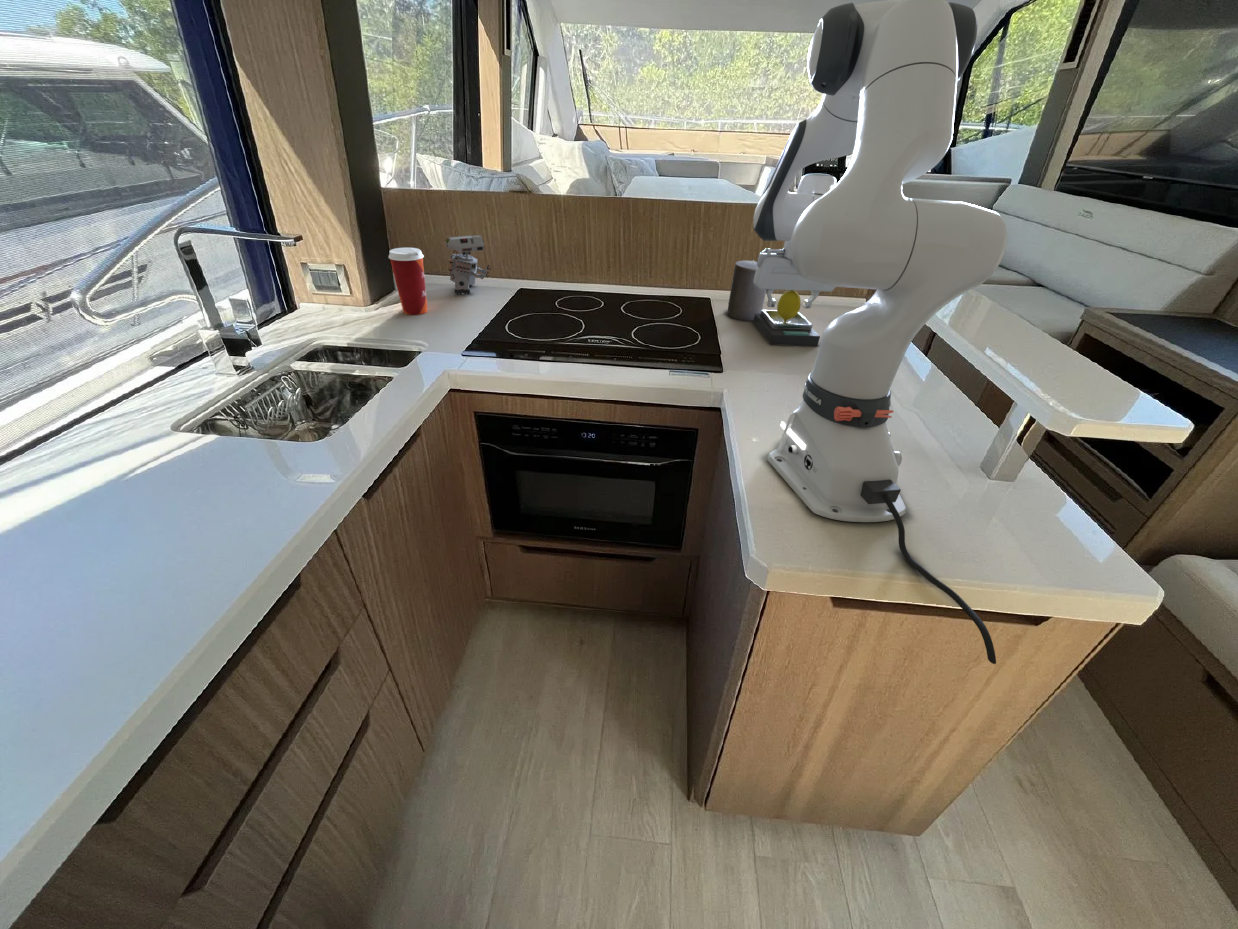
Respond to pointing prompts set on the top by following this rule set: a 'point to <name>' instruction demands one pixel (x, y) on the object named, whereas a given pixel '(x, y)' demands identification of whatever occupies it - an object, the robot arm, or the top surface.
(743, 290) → the pillar candle
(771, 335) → the scale
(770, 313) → the scale pan
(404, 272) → the coffee cup
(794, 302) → the lemon
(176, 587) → the top surface
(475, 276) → the figurine
